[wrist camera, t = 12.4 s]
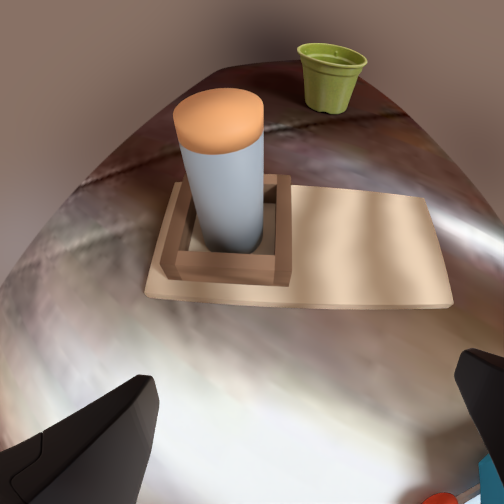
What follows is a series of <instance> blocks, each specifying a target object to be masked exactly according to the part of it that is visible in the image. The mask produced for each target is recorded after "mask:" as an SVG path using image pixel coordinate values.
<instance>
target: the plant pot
mask: <svg viewBox="0 0 504 504" xmlns="http://www.w3.org/2000/svg"><path fill="white" fill-rule="evenodd" d="M297 51H298V54H299V55H300V57H301V62H302V64H303V73H304V86H305V101H306V104H307V105H308V106H309V107H310V108H312V109H313V110H315V111H318V112H328V113H329V114H339V113H342V112H344V111H345V110H346V108H347V105H348V103H349V100H350V97H351V94H352V91H353V89H354V86H355V83H356V80H357V77H358V75H359V73H360V72H361V71H362V68H363V67H364V66H365V65H366V64H367V59H366V58H365V57H364V56H362V55H361V54H360V53H358V52H355V51H353V50H351V49H348V48H345V47H341V46H337V45H332V44H323V43H310V44H303V45H301V46H299V47H298V49H297Z"/></svg>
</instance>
